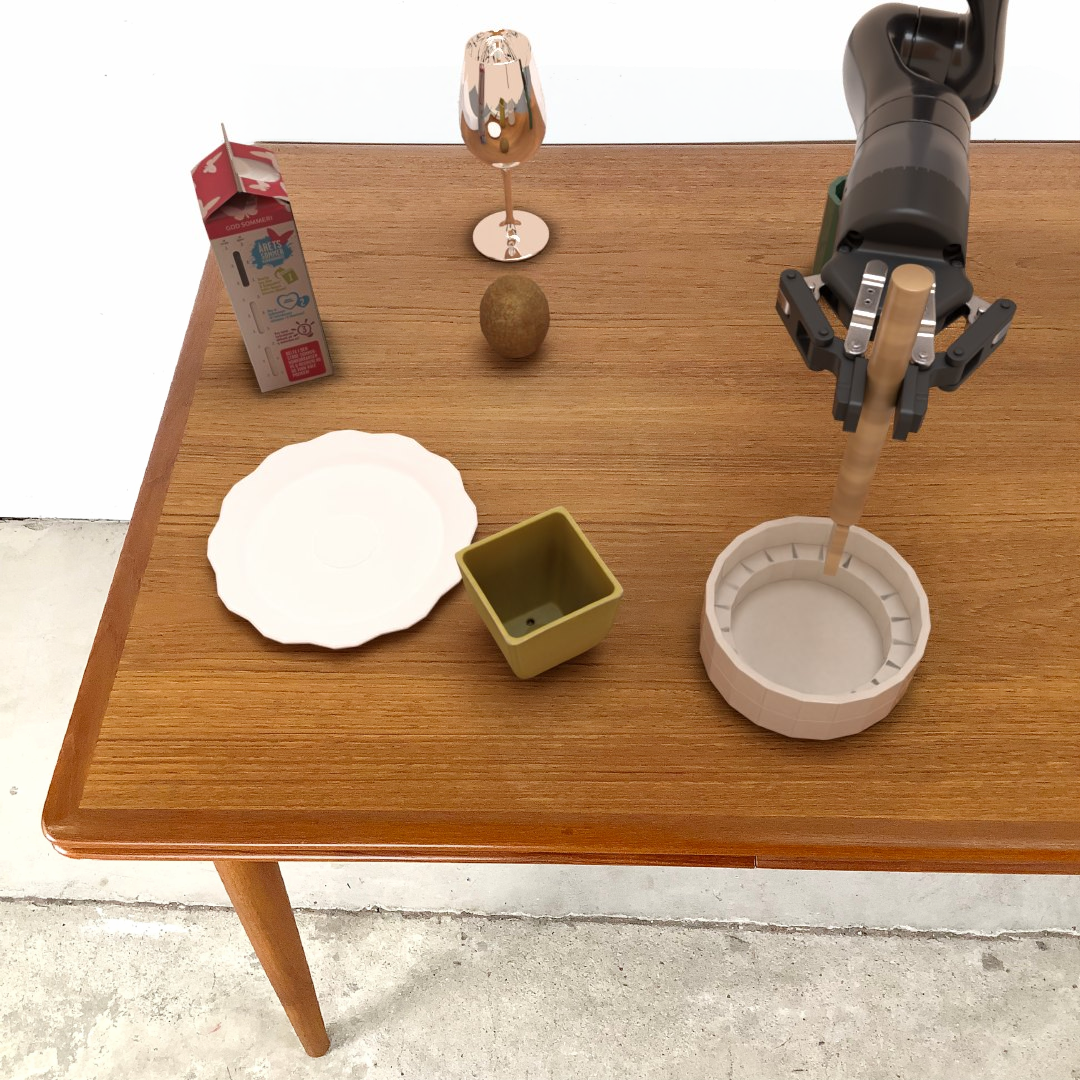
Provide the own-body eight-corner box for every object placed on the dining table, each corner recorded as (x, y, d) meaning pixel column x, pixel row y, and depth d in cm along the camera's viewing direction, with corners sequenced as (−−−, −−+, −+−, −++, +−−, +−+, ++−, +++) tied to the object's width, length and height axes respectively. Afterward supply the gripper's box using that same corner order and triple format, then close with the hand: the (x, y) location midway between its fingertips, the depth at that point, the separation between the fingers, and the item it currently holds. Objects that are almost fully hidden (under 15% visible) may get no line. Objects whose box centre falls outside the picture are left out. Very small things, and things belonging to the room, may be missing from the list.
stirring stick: (818, 541, 74) (894, 256, 55) (849, 546, 74) (936, 262, 55) (813, 572, 73) (889, 292, 54) (845, 578, 73) (932, 298, 53)
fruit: (541, 319, 104) (538, 250, 97) (559, 366, 100) (557, 298, 93) (475, 333, 103) (467, 265, 96) (491, 381, 99) (484, 313, 93)
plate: (179, 641, 85) (172, 630, 83) (257, 433, 97) (253, 420, 95) (450, 671, 82) (448, 659, 81) (496, 454, 94) (495, 441, 93)
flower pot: (565, 572, 87) (563, 501, 80) (623, 658, 82) (626, 591, 75) (463, 620, 85) (451, 552, 77) (517, 711, 80) (509, 647, 73)
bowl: (777, 530, 89) (788, 482, 84) (949, 639, 82) (972, 594, 77) (657, 657, 82) (661, 613, 77) (833, 785, 76) (849, 747, 71)
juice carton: (319, 324, 104) (263, 113, 86) (334, 373, 100) (279, 163, 83) (248, 342, 103) (177, 132, 85) (261, 392, 99) (189, 183, 82)
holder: (830, 255, 107) (850, 165, 99) (877, 278, 105) (901, 189, 97) (799, 283, 105) (816, 194, 97) (846, 308, 103) (868, 219, 95)
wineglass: (543, 267, 108) (535, 75, 91) (463, 259, 109) (441, 68, 92) (556, 215, 112) (551, 23, 96) (480, 208, 113) (462, 18, 97)
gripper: (797, 149, 66) (752, 354, 57) (1042, 177, 64) (1038, 398, 54) (780, 249, 72) (738, 450, 63) (1003, 279, 70) (994, 493, 60)
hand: (877, 425), depth 59 cm, fingers closed on stirring stick, 2 cm apart
